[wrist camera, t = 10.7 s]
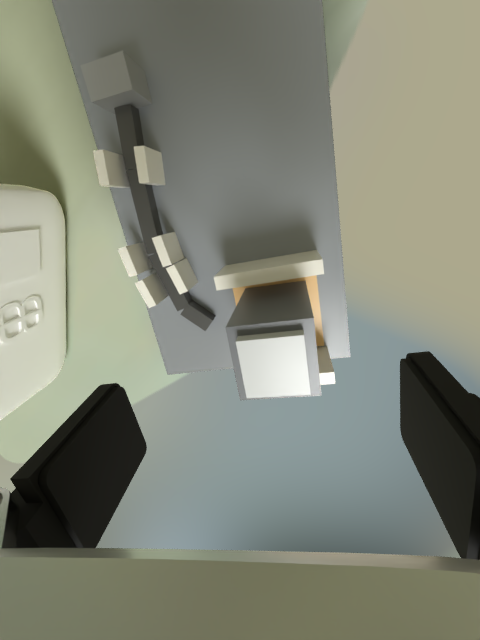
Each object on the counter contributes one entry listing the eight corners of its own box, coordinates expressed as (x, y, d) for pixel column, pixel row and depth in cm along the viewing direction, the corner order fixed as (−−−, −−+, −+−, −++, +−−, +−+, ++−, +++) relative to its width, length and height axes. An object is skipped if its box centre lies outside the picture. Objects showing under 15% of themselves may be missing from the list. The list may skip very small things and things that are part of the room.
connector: (245, 288, 20) (222, 332, 13) (305, 280, 20) (315, 322, 13) (254, 341, 22) (238, 407, 15) (311, 336, 21) (322, 403, 14)
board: (42, -66, 16) (-46, -164, 12) (303, -188, 13) (310, -375, 9) (172, 367, 25) (148, 401, 21) (347, 349, 22) (361, 384, 18)
